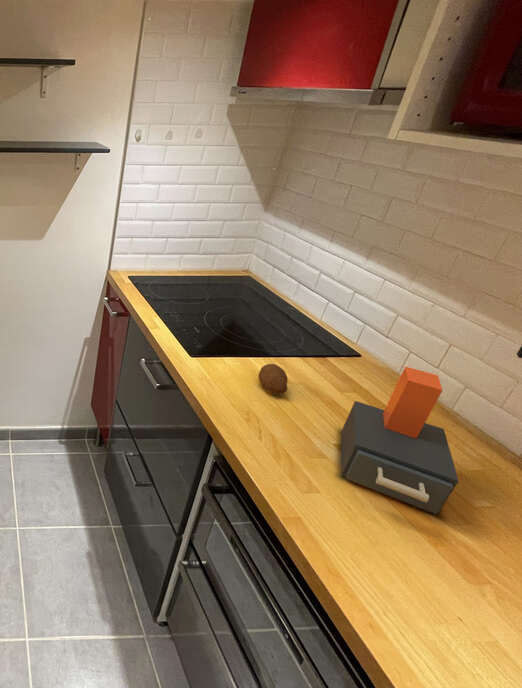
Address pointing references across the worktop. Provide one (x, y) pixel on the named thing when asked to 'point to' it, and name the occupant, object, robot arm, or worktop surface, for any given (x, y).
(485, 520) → the worktop surface
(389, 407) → the box
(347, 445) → the cabinet
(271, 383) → the potato
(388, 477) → the drawer
